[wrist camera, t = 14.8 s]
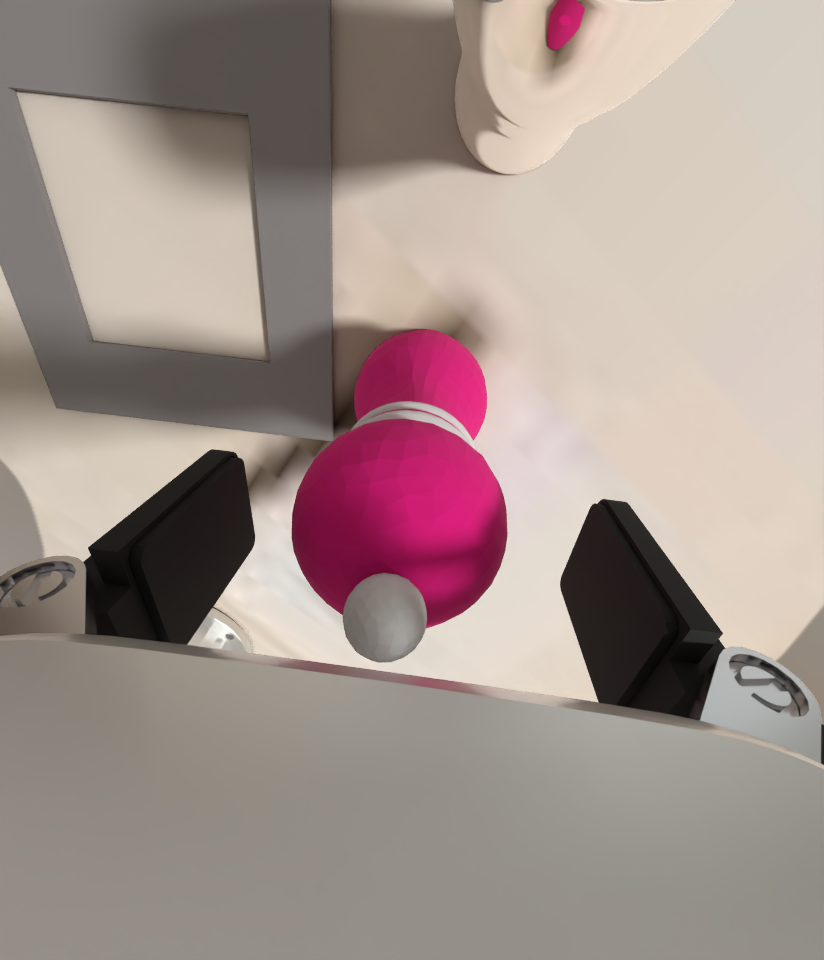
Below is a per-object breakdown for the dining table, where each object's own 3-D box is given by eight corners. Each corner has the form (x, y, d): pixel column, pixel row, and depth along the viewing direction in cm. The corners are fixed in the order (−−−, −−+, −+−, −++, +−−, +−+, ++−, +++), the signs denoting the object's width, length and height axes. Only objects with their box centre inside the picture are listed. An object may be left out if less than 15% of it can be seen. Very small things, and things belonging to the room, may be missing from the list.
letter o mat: (333, 438, 27) (331, 441, 27) (61, 406, 27) (56, 408, 27) (330, -31, 16) (327, -37, 16) (-124, -78, 16) (-136, -85, 16)
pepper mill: (346, 370, 25) (116, 618, 7) (434, 293, 22) (403, 392, 5) (415, 450, 27) (367, 777, 10) (501, 389, 24) (645, 687, 7)
